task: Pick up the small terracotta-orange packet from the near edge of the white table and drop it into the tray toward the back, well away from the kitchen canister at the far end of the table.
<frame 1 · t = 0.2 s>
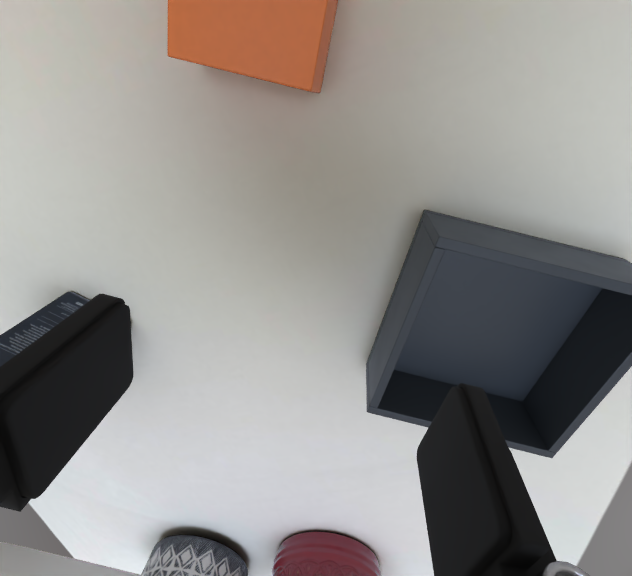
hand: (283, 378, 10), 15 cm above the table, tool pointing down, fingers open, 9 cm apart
tray: (479, 318, 26), on the table
planter: (204, 551, 47), on the table
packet: (267, 25, 19), on the table
kitchen canister: (328, 556, 44), on the table
box: (94, 335, 31), on the table
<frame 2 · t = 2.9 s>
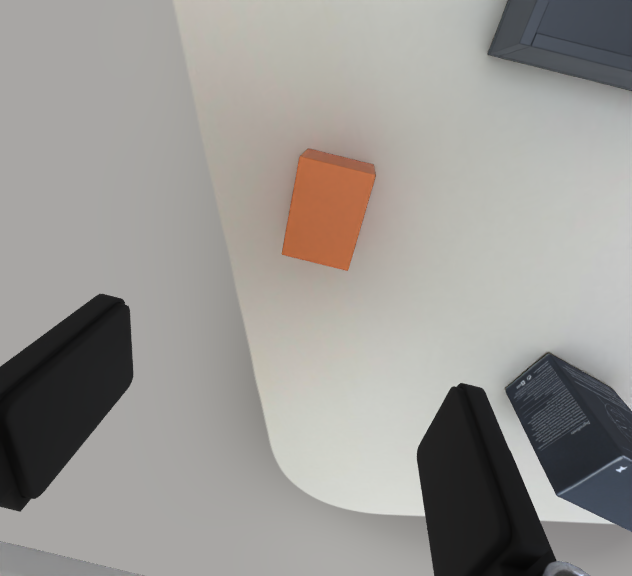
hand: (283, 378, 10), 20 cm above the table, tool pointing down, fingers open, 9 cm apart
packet: (330, 202, 28), on the table
box: (555, 387, 34), on the table
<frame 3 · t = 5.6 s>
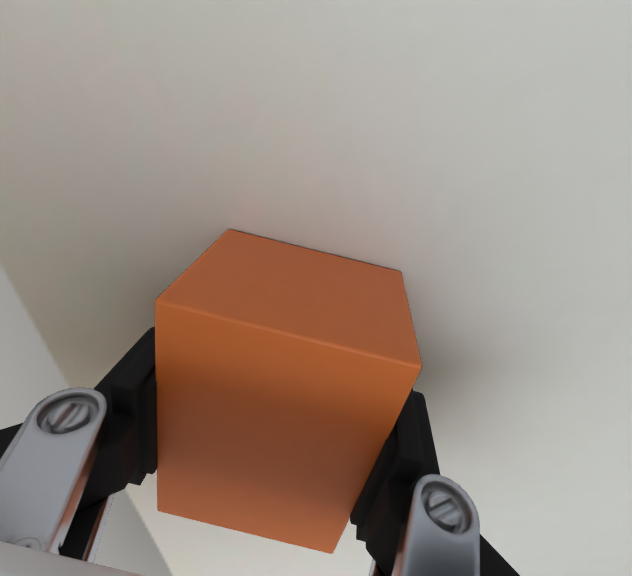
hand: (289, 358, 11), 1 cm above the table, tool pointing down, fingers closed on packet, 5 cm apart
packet: (292, 346, 11), on the table, touching gripper
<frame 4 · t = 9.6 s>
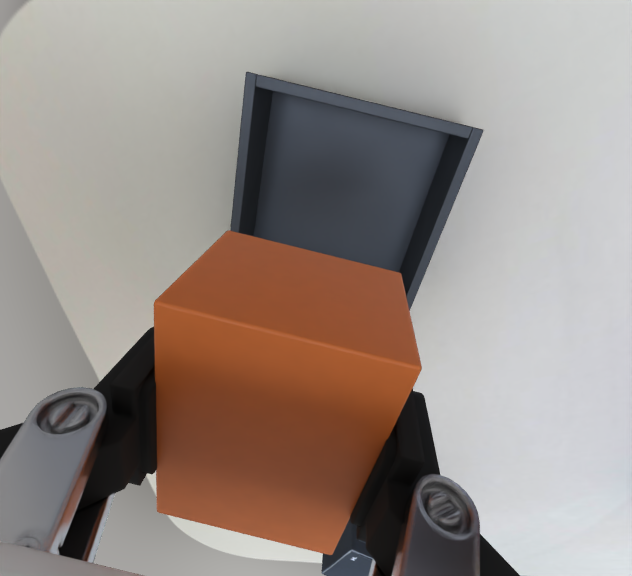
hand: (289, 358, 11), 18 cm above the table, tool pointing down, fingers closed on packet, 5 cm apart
tray: (340, 197, 27), on the table
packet: (292, 347, 11), point 18 cm above the table, touching gripper
box: (369, 469, 41), on the table
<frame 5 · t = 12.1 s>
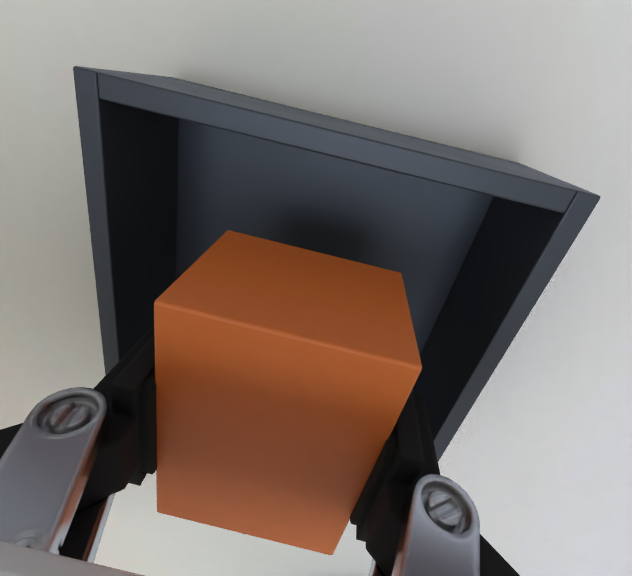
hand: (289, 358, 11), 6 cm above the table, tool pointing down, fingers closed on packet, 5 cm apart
tray: (309, 275, 16), on the table
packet: (292, 347, 11), point 5 cm above the table, touching gripper
when the fingers open (1 cm above the table, at t = 14.4 s): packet stays where it is, resting on tray.
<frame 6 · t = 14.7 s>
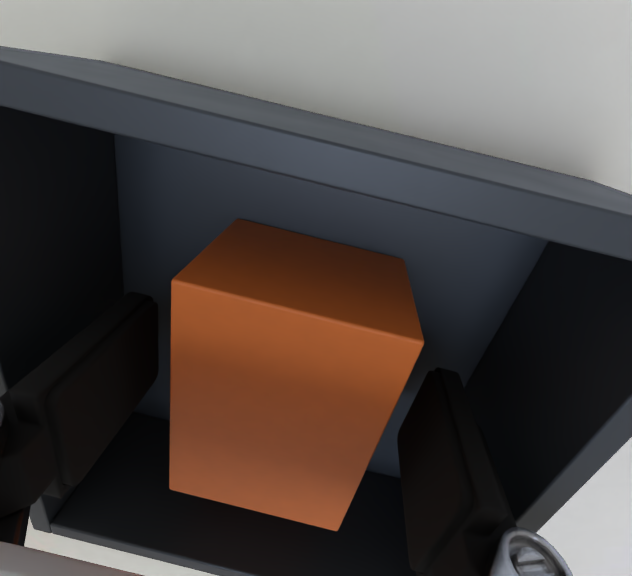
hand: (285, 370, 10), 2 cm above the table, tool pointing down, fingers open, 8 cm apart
tray: (299, 323, 12), on the table
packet: (298, 333, 12), point 1 cm above the table, touching tray
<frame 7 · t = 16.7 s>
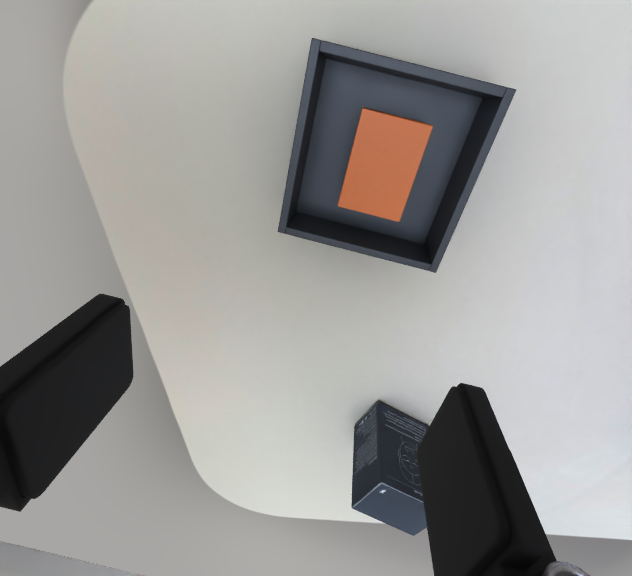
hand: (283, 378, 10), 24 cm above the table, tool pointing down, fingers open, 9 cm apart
tray: (379, 159, 30), on the table
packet: (380, 160, 29), point 1 cm above the table, touching tray
box: (391, 424, 44), on the table
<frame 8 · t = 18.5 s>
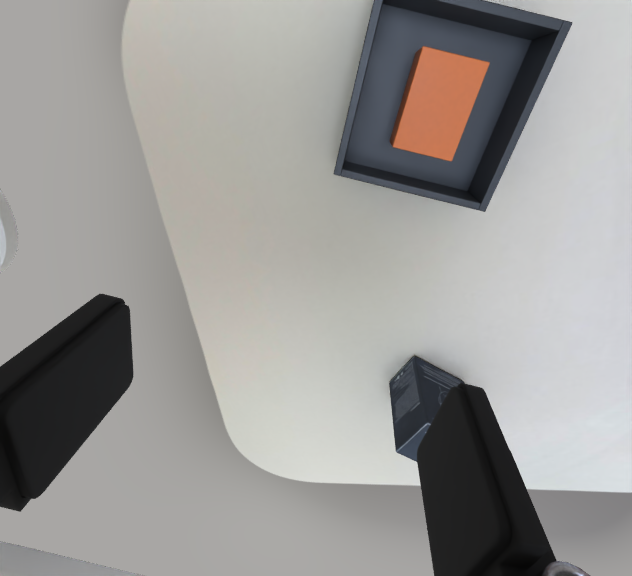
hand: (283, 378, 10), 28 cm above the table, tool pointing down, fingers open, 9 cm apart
tray: (428, 106, 31), on the table
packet: (429, 106, 31), point 1 cm above the table, touching tray
box: (425, 380, 46), on the table
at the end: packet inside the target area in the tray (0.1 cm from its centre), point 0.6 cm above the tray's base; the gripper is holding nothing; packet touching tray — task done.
